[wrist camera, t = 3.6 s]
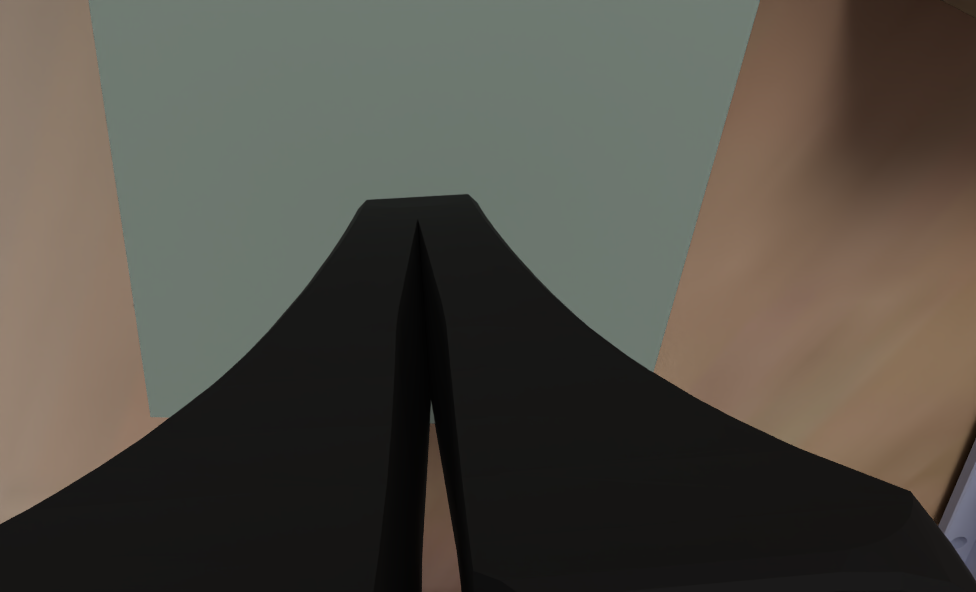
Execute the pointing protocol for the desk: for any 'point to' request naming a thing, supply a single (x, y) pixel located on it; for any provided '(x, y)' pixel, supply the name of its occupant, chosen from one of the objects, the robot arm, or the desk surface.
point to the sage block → (404, 150)
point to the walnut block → (964, 6)
